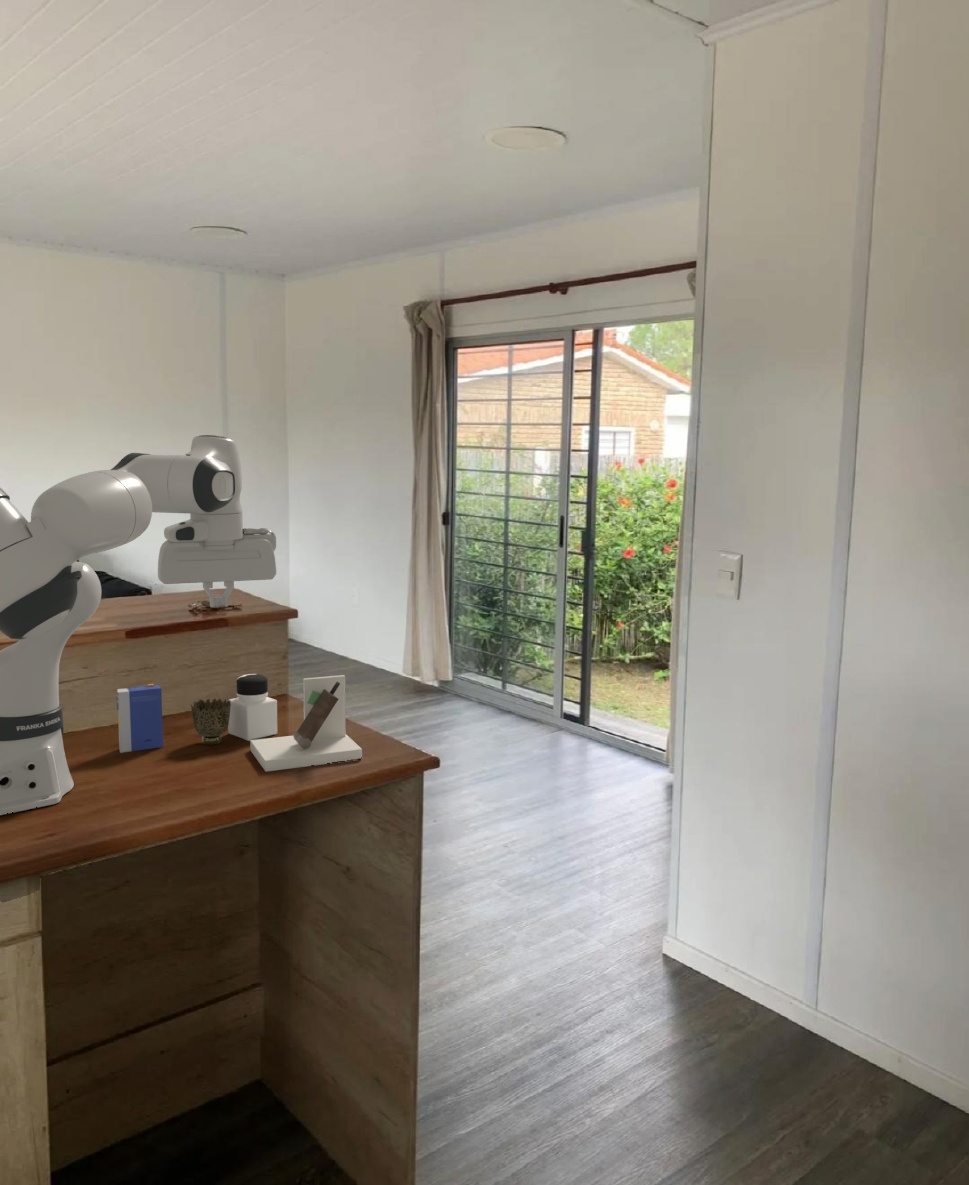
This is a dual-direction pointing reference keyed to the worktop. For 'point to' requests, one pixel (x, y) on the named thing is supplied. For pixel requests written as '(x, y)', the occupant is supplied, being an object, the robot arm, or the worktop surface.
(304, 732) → the lever
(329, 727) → the stand
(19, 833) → the worktop surface
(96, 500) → the robot arm
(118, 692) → the walkman
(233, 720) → the medicine bottle
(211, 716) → the cup
